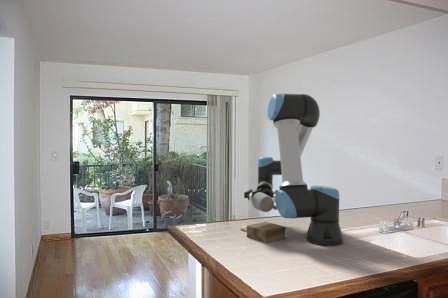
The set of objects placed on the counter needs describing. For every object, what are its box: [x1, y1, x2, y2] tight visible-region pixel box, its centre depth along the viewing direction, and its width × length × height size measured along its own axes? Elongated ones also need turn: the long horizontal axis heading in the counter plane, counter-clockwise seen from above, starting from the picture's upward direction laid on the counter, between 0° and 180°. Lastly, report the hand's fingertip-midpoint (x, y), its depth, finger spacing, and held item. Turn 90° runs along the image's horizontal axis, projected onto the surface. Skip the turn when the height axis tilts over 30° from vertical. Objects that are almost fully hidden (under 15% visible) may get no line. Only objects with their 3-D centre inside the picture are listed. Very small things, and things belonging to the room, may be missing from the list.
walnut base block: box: [246, 221, 287, 244], centre depth 159 cm, size 12×12×5 cm
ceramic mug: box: [251, 192, 278, 213], centre depth 160 cm, size 11×8×8 cm
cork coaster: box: [240, 225, 248, 232], centre depth 174 cm, size 9×9×1 cm
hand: (262, 199), depth 155 cm, fingers closed on ceramic mug, 10 cm apart
